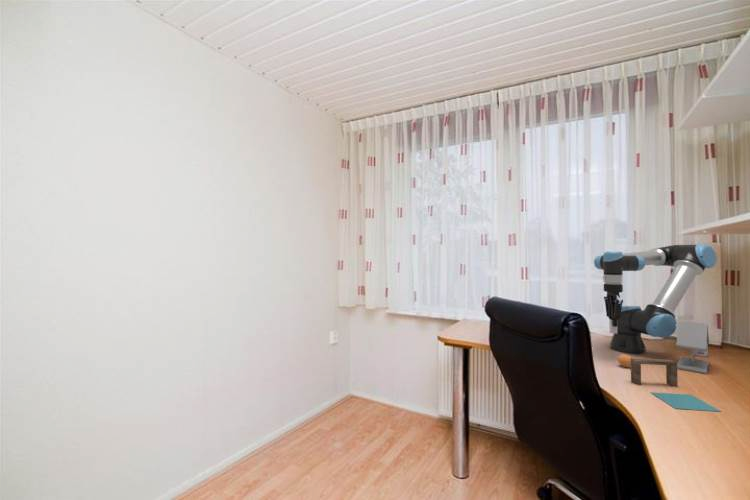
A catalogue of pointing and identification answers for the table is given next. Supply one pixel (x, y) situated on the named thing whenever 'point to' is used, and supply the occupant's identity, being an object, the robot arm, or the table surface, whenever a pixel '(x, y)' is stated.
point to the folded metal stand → (692, 345)
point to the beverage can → (701, 352)
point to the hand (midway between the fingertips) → (613, 332)
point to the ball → (624, 360)
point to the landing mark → (684, 402)
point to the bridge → (670, 364)
